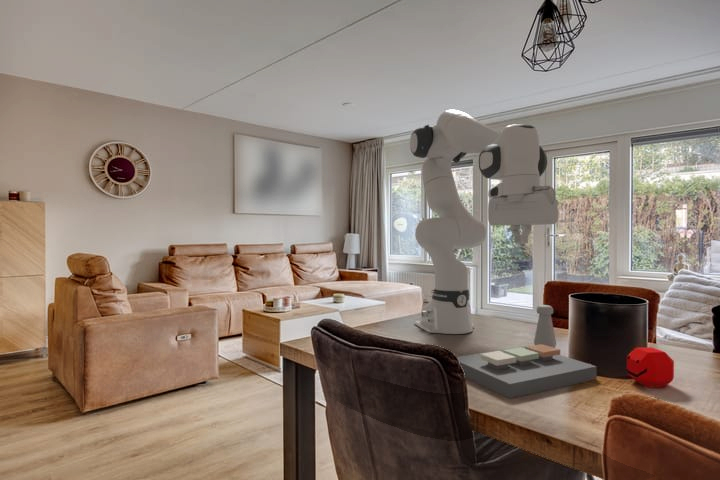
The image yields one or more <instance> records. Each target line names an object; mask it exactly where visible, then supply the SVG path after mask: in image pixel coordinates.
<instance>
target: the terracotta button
mask: <svg viewBox="0 0 720 480" xmlns="http://www.w3.org/2000/svg"><path fill="white" fill-rule="evenodd" d="M526 346H527V347H525V349H527V350H530V351H534V352H537V353H539V358H538V359H537V360H540V361H549V360H553V356H555V355H561V349H559V348H556V347H555V348H553V347H550V346H547V345H543V344H539V345H535V344H534V345H526Z"/></svg>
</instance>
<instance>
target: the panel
mask: <svg viewBox="0 0 720 480" xmlns="http://www.w3.org/2000/svg"><path fill="white" fill-rule="evenodd" d="M527 346H528V345H525V346H518V347H516V348H520V347H521V348H524V349H525V347H527ZM514 348H515V347H512V348H510V349H514ZM508 349H509V348H505V349H499V350H497V351H501V352H503V350H508ZM495 351H496V350H494V351H493V350H492V351H491V352H495ZM489 352H490V351H486V352H485V353H489ZM483 353H484V352H480V353H475V354H466V355H461V356H456V357H457V358H458V360H459V362H460V365H461V366H462V368H463V370H464V373H465V376H466V377H465V378H466V379H469V380H471V381H472V382H475V383H477V384H479V385H481V386H482V387H486V388H487V389H490V390H491V391H494V393H497V394H499V395H502V396H503V397H505V398H508V399H514V398H518V397H524V396H528V395H533V394H537V393H541V392H547V391H549V390H554V389H559V388H563V387H567V386H568V387H570V386H572V385H577V384H581V383H585V382H586V383H587V382H590V381H595V380H597V373H598V372H597V366H596V365H593V364H591V363H587V362H583V361H581V360H577V359H574V358H571V357H567V356H565V355H561V354H560V355H555V356H553V360H549V361H540V360H537V359H532V360H531V364H527V365H518V364H515V363H510V364H508V368H505V369H500V370H497V369H494V368H492V367H489V366H488V362H487V361H484V360H482V359H480V354H483Z"/></svg>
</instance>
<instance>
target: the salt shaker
mask: <svg viewBox="0 0 720 480" xmlns="http://www.w3.org/2000/svg"><path fill="white" fill-rule="evenodd" d="M536 313H537V315H538V319H537V323H536V330H535V334H534V338H533V344H534V345H539V344H543V345H547V346H550V347H553V348H556V347H557V340H556V335H555V329H554V324H553V319H552V315H553V314H554V308H553V307H552V306H551V305H548V304H539V305H538V306H537V307H536Z"/></svg>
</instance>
